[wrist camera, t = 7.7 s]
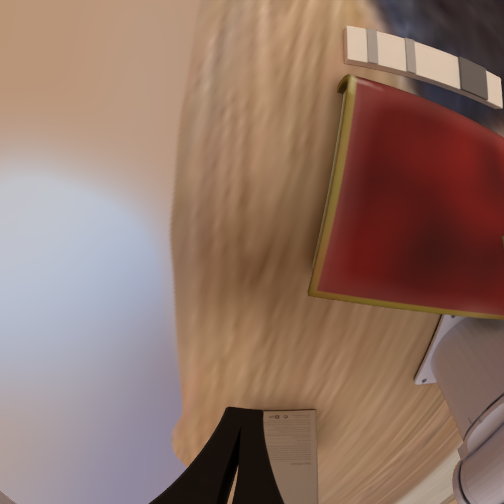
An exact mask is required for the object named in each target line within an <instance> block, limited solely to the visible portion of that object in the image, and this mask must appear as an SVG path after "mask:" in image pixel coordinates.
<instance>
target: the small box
mask: <svg viewBox="0 0 504 504" xmlns="http://www.w3.org/2000/svg"><path fill="white" fill-rule="evenodd" d="M263 412H264V416H263V423H264V434H265V441H266V446H267V451H268V455H269V460H270V464H271V467H272V471H273V474H274V477H275V480H276V483H277V486H278V489H279V491H280V494H281V496H282V499H283V501H284V503H285V504H318V461H317V422H316V410H302V411H263Z"/></svg>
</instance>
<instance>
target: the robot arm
mask: <svg viewBox="0 0 504 504" xmlns="http://www.w3.org/2000/svg"><path fill="white" fill-rule="evenodd" d="M414 382H415V384H417V385H419V384H428V383H438V385H439V387H440V389H441V391H442V393H443V395H444V398H445V400H446V402H447V404H448V406H449V409H450V411H451V413H452V415H453V418H454V420H455V422H456V425H457V427H458V429H459V432H460V434H461V437H462V439H463V442H464V443H463V444H462V445H461V446H460V447H459V448H458V453H459V455H460V458H461V460H460V461H459V462H458V463H457V465H456V467H455V469H454V473H453V479H452V484H453V492H454V496H455V499H456V501H457V503H458V504H504V320H496V319H485V318H474V317H464V316H455V315H445V314H442V317H441V320H440V322H439V325H438V327H437V330H436V332H435V335H434V337H433V340H432V342H431V344H430V347H429V349H428V351H427V354H426V356H425V358H424V360H423V362H422V364H421V367H420V369H419V371H418V373H417V375H416V377H415V379H414ZM263 416H264V412H263V411H261V410H254V409H245V408H236V407H227V408H226V409H225V412H224V414H223V416H222V418H221V420H220V422H219V424H218V426H217V428H216V429H215V431H214V433H213V434H212V436H211V437H210V439H209V440H208V442H207V443H206V445H205V446H204V448H203V449H202V451H201V452H200V453H199V454H198V456H197V457H196V458H195V459H194V461H193V462H192V463H191V464H190V466H189V467H188V468H187V469H186V470H185V471H184V472H183V474H182V475H181V476H180V477H179V478H178V479H177V480H176V481H175V482H174V483H173V484H172V485H171V486H169V487H168V488H167V489H166V490H165V491H164V492H163V493H162V494H160V495H159V496H158V497H157V498H155V499H154V500H153V501H152V502H150V503H149V504H227V502H228V498H229V495H230V491H231V488H232V485H233V481H234V478H235V474H236V471H237V467H238V475H237V482H236V487H235V492H234V497H233V502H232V504H285V503H284V501H283V499H282V496H281V494H280V491H279V489H278V486H277V483H276V480H275V477H274V474H273V471H272V467H271V464H270V460H269V455H268V451H267V446H266V441H265V434H264V423H263ZM0 504H16V503H15V502H13V501H12V500H10V499H9V498H8V497H7V496H6V495H4V494H3V493H2V492H1V491H0Z"/></svg>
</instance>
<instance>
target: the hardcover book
mask: <svg viewBox="0 0 504 504" xmlns="http://www.w3.org/2000/svg"><path fill="white" fill-rule="evenodd" d="M337 92H338V93H342V94H343V102H342V109H341V116H340V123H339V129H338V136H337V142H336V148H335V154H334V160H333V166H332V172H331V177H330V183H329V188H328V193H327V198H326V203H325V208H324V213H323V218H322V223H321V228H320V232H319V237H318V241H317V246H316V250H315V255H314V259H313V263H312V268H313V273H312V277H311V281H310V285H309V289H308V296H313V297H319V298H326V299H332V300H339V301H346V302H352V303H359V304H366V305H373V306H381V307H388V308H396V309H404V310H412V311H420V312H428V313H437V314H445V315H455V316H464V317H474V318H485V319H496V320H504V138H503V137H502V136H500V135H498V134H497V133H495V132H493V131H491V130H490V129H488V128H486V127H484V126H482V125H480V124H479V123H477V122H475V121H473V120H471V119H469V118H467V117H465V116H463V115H461V114H459V113H457V112H454V111H452V110H450V109H448V108H446V107H443V106H441V105H439V104H436V103H434V102H432V101H429V100H427V99H424V98H422V97H419V96H416V95H414V94H411V93H408V92H406V91H403V90H400V89H397V88H394V87H391V86H388V85H385V84H381V83H378V82H375V81H371V80H368V79H364V78H361V77H357V76H353V75H349V74H348V75H346V76H345V77H344V78H343V79H342V80H341V82H340V83H339V85H338V90H337Z"/></svg>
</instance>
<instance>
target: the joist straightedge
mask: <svg viewBox="0 0 504 504" xmlns="http://www.w3.org/2000/svg"><path fill="white" fill-rule="evenodd" d="M344 64H350V65H356V66H361V67H367V68H372V69H377V70H381V71H386V72H390V73H394V74H398V75H402V76H406V77H409V78H413V79H417V80H420V81H423V82H427V83H430V84H433V85H436V86H439V87H442V88H445V89H448V90H450V91H453V92H456V93H458V94H461V95H464V96H466V97H469V98H471V99H473V100H476V101H478V102H480V103H483V104H485V105H487V106H489V107H492V108H494V109H500V108H502V90H501V79H500V78H499V77H497V76H495V75H493V74H492V73H490V72H488V71H486V69H485V68H483V67H481V66H479V65H477V64H475V63H473V62H471V61H469V60H466V59H464V58H462V57H455V56H453V55H450V54H448V53H445V52H443V51H440V50H437V49H435V48H432V47H429V46H426V45H423V44H420V43H417V42H414V40H412V39H408V38H405V39H404V38H400V37H397V36H393V35H389V34H385V33H381V32H377V30H374V29H369V28H367V29H363V28H358V27H352V26H346V28H345V30H344Z"/></svg>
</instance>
